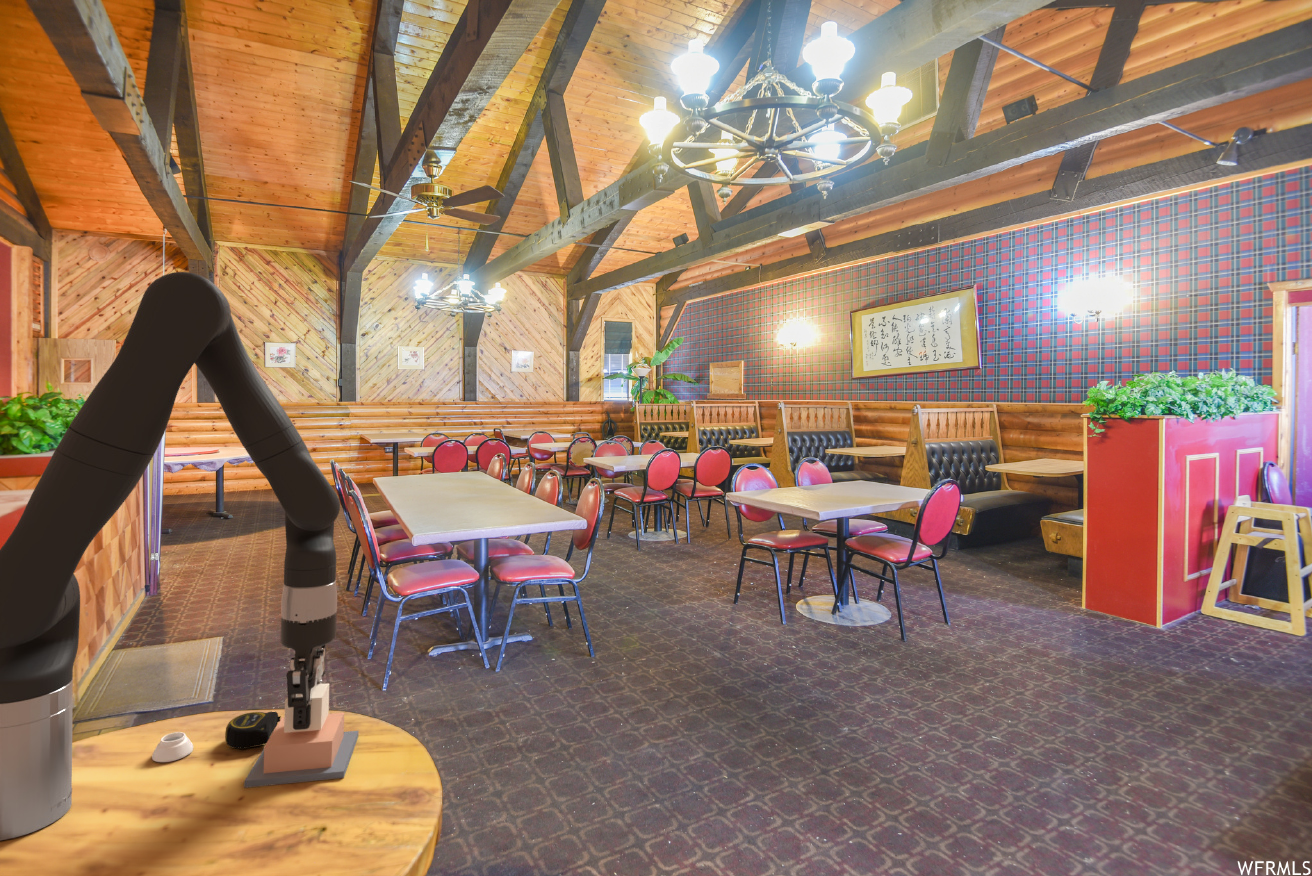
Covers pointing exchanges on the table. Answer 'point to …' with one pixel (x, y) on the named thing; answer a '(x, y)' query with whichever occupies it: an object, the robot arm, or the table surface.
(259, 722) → the tape measure
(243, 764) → the table surface
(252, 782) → the build base
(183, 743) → the white bowl
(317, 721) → the cream block
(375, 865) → the table surface
